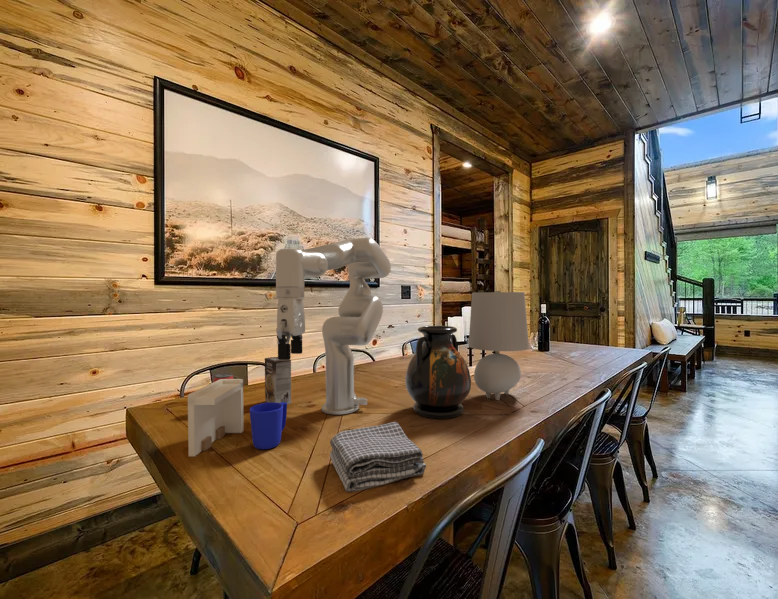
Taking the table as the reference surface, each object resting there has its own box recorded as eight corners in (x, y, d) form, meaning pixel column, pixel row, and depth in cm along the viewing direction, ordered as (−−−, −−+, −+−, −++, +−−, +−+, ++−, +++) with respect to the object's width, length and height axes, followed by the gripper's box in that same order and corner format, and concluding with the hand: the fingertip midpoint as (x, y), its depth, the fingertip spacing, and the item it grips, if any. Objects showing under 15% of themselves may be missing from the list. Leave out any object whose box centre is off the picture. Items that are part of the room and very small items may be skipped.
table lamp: (490, 386, 147) (489, 291, 147) (541, 396, 131) (540, 290, 131) (457, 397, 132) (456, 291, 131) (510, 410, 116) (509, 290, 115)
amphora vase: (442, 429, 100) (441, 332, 100) (392, 411, 117) (391, 327, 116) (484, 412, 115) (484, 327, 114) (435, 398, 131) (434, 323, 131)
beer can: (238, 407, 123) (237, 373, 122) (227, 413, 116) (227, 377, 116) (220, 406, 123) (220, 372, 123) (209, 412, 117) (208, 377, 117)
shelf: (243, 430, 100) (242, 378, 100) (215, 456, 84) (214, 394, 84) (221, 430, 100) (220, 379, 100) (188, 456, 84) (187, 394, 84)
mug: (298, 435, 97) (297, 399, 97) (270, 454, 85) (269, 413, 85) (273, 432, 99) (273, 397, 99) (242, 449, 88) (242, 410, 88)
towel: (327, 463, 81) (327, 430, 81) (399, 449, 88) (399, 418, 88) (346, 498, 67) (345, 457, 67) (429, 478, 74) (429, 441, 74)
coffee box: (264, 401, 129) (263, 358, 128) (280, 398, 133) (280, 355, 133) (275, 407, 122) (274, 361, 122) (292, 403, 126) (291, 358, 126)
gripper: (293, 293, 87) (293, 362, 87) (312, 294, 104) (313, 351, 104) (263, 293, 88) (264, 361, 88) (288, 294, 105) (288, 351, 105)
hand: (290, 356), depth 96 cm, fingers open, 9 cm apart
